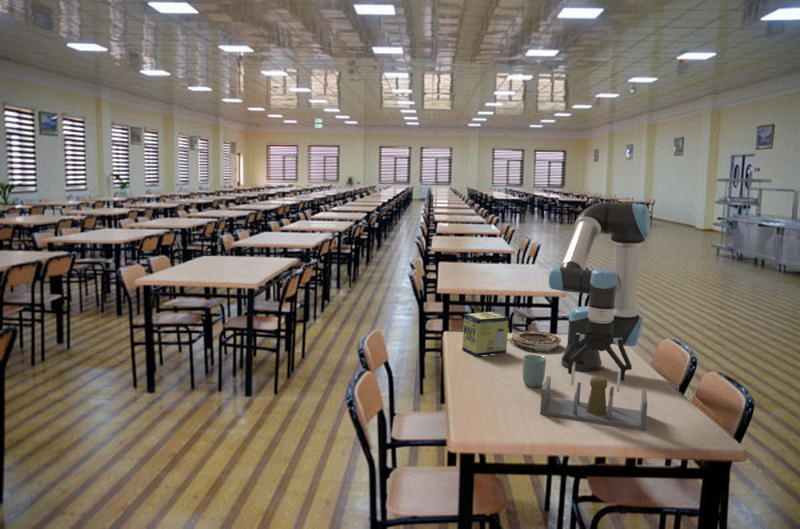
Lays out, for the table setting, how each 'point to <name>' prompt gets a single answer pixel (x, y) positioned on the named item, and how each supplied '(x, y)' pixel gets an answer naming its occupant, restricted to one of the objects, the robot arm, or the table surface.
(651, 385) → the table surface
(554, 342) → the pie
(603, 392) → the cork
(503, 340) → the protein box
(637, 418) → the rack
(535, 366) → the cup
